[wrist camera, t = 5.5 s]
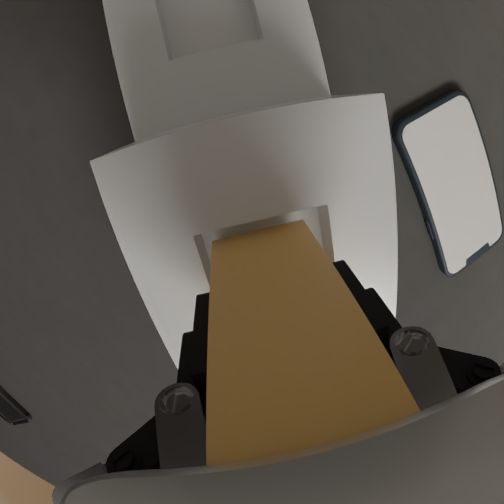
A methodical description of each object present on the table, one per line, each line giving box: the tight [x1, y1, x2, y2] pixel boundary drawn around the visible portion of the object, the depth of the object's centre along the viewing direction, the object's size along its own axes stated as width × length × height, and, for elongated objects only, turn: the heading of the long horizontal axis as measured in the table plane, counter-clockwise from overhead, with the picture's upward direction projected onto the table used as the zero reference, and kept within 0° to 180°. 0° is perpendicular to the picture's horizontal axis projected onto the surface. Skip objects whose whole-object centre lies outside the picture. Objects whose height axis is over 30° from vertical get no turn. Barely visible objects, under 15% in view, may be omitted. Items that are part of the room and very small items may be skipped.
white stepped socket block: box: [90, 0, 398, 369], centre depth 15 cm, size 28×12×10 cm, turn 13°
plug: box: [206, 219, 420, 466], centre depth 10 cm, size 4×4×10 cm
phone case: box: [392, 90, 503, 277], centre depth 23 cm, size 9×2×16 cm
